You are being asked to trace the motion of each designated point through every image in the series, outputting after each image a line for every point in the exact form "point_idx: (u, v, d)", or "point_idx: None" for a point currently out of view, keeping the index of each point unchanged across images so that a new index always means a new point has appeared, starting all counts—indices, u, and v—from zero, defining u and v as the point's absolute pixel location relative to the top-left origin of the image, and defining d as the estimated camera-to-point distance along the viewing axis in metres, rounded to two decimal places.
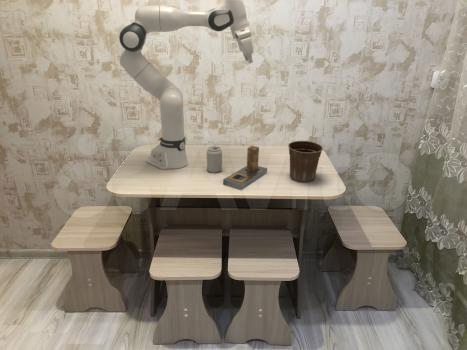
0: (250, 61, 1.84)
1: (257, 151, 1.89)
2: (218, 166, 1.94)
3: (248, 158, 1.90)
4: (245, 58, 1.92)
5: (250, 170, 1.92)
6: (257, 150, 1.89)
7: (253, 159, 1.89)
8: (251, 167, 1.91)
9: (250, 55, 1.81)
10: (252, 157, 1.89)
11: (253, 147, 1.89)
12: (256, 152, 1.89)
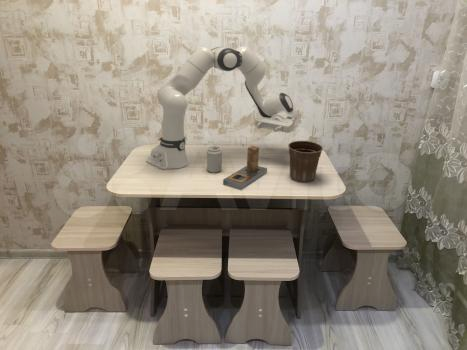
0: (276, 129, 1.94)
1: (257, 151, 1.89)
2: (218, 166, 1.94)
3: (248, 158, 1.90)
4: (260, 124, 1.99)
5: (250, 170, 1.92)
6: (257, 150, 1.89)
7: (253, 159, 1.89)
8: (251, 167, 1.91)
9: (281, 129, 1.96)
10: (252, 157, 1.89)
11: (253, 147, 1.89)
12: (256, 152, 1.89)
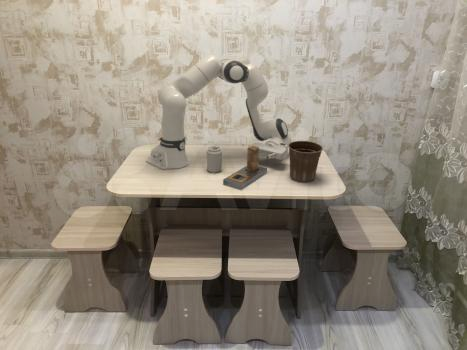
0: (270, 156, 1.95)
1: (257, 151, 1.89)
2: (218, 166, 1.94)
3: (248, 158, 1.90)
4: None
5: (250, 170, 1.92)
6: (257, 150, 1.89)
7: (253, 159, 1.89)
8: (251, 167, 1.91)
9: (274, 156, 1.97)
10: (252, 157, 1.89)
11: (253, 147, 1.89)
12: (256, 152, 1.89)
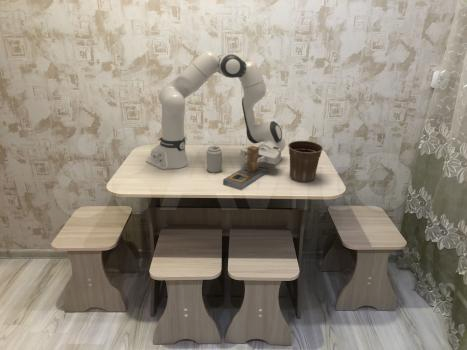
0: (258, 160, 1.90)
1: (257, 151, 1.90)
2: (218, 166, 1.94)
3: (248, 158, 1.90)
4: None
5: (250, 170, 1.92)
6: (257, 150, 1.89)
7: (253, 159, 1.89)
8: (251, 167, 1.91)
9: (263, 160, 1.92)
10: (252, 157, 1.89)
11: (253, 147, 1.89)
12: (256, 151, 1.89)
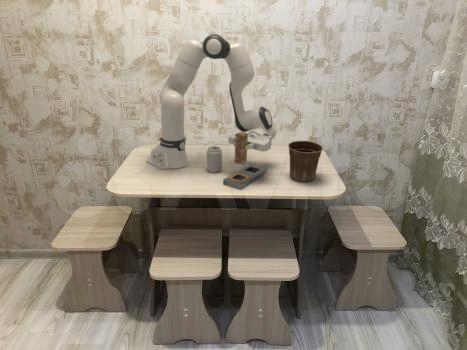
0: (247, 147, 1.78)
1: (246, 137, 1.77)
2: (218, 166, 1.94)
3: (236, 145, 1.78)
4: None
5: (238, 158, 1.80)
6: (246, 136, 1.77)
7: (241, 146, 1.77)
8: (239, 154, 1.79)
9: (252, 147, 1.80)
10: (240, 144, 1.77)
11: (241, 133, 1.77)
12: (245, 138, 1.77)
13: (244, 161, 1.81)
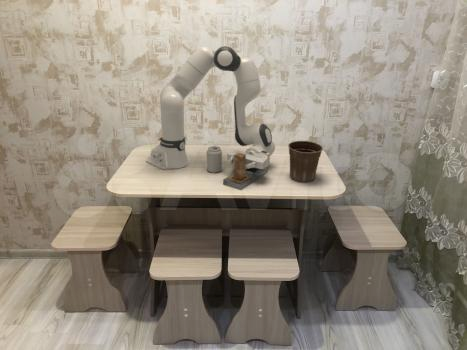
0: (249, 166, 1.79)
1: (244, 158, 1.80)
2: (218, 166, 1.94)
3: (234, 166, 1.81)
4: (233, 159, 1.84)
5: (236, 178, 1.83)
6: (244, 157, 1.80)
7: (239, 167, 1.80)
8: (237, 175, 1.82)
9: (254, 166, 1.81)
10: (239, 165, 1.80)
11: (240, 155, 1.80)
12: (243, 159, 1.80)
13: None
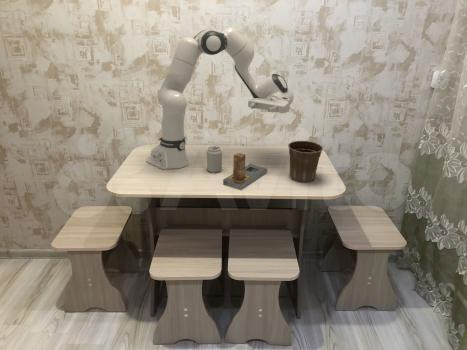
0: (271, 109, 1.84)
1: (244, 158, 1.80)
2: (218, 166, 1.94)
3: (234, 166, 1.81)
4: (254, 105, 1.89)
5: (236, 178, 1.83)
6: (244, 157, 1.80)
7: (239, 167, 1.80)
8: (237, 175, 1.82)
9: (275, 110, 1.86)
10: (238, 165, 1.80)
11: (239, 155, 1.80)
12: (243, 159, 1.80)
13: None
